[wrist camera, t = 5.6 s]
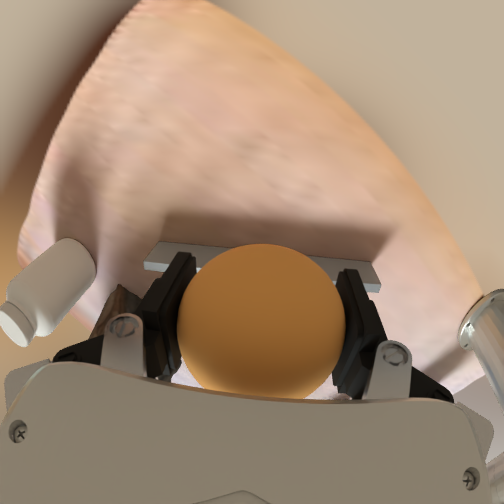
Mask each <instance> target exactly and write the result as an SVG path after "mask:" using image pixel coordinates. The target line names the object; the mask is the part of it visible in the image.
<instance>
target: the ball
mask: <svg viewBox="0 0 504 504" xmlns="http://www.w3.org/2000/svg"><path fill="white" fill-rule="evenodd" d="M345 331H346V321H345V312H344V307H343V304H342V300H341V298H340V295H339V293H338V291H337V289H336V287H335V285H334V284H333V282H332V281H331V279H330V278H329V276H328V275H327V273H326V272H325V271H324V270H323V269H322V268H321V267H320V266H319V265H317V264H316V263H315V262H314V261H312V260H311V259H310V258H308V257H307V256H305V255H303V254H302V253H300V252H297V251H295V250H293V249H290V248H286V247H283V246H279V245H273V244H250V245H244V246H239V247H236V248H233V249H230V250H228V251H226V252H224V253H222V254H220V255H218V256H216V257H215V258H213V259H212V260H210V261H209V262H208V263H207V264H206V265H204V266H203V267H202V268H201V269H200V270H199V271H198V272H197V274H196V275H195V276H194V277H193V279H192V280H191V282H190V283H189V285H188V287H187V288H186V290H185V292H184V294H183V297H182V300H181V303H180V306H179V310H178V317H177V339H178V344H179V348H180V351H181V355H182V357H183V359H184V361H185V364H186V366H187V368H188V369H189V371H190V372H191V374H192V375H193V377H194V378H195V379H196V380H197V382H198V383H199V384H200V385H201V386H202V387H204V388H205V389H209V390H215V391H222V392H229V393H237V394H245V395H254V396H264V397H276V398H292V399H303V398H305V397H307V396H308V395H310V394H311V393H313V392H314V391H315V390H316V389H317V388H318V387H319V386H320V385H322V384H323V383H324V382H325V380H326V379H327V378H328V376H329V375H330V374H331V372H332V371H333V369H334V368H335V366H336V364H337V362H338V360H339V358H340V355H341V352H342V349H343V345H344V341H345Z"/></svg>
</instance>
